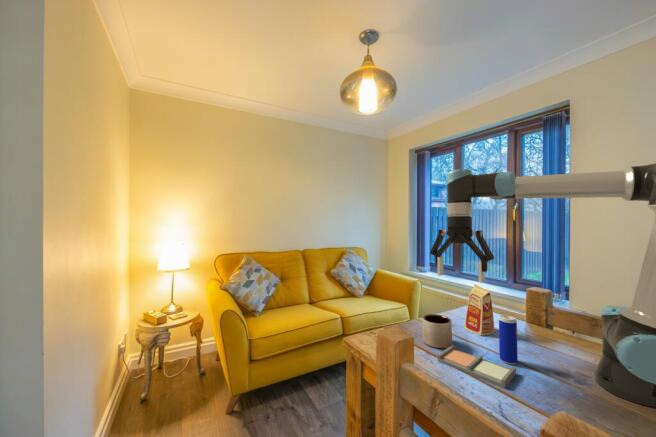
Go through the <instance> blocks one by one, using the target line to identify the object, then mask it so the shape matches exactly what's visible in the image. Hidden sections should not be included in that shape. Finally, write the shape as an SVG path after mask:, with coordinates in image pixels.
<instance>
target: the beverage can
mask: <svg viewBox="0 0 656 437" xmlns="http://www.w3.org/2000/svg"><path fill="white" fill-rule="evenodd" d="M498 339H499V340H498V346H499V347H498V350H499V353H498V354H499V359H500V361H501V362H503V363H504V364H507V365H512V366H514V365H516V364H517V363H518V321H517V319H516V317H514V316H512V315H505V314H502V315H499V317H498Z"/></svg>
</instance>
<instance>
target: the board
mask: <svg viewBox="0 0 656 437" xmlns="http://www.w3.org/2000/svg"><path fill="white" fill-rule="evenodd" d="M437 362H438V363H442V364H444V365H446V366H449V367H452V368H454V369H456V370H458V371H461V372H462V373H466V374H467V375H470V376H473V377H475V378H478V379H480V380H483V381H484V382H485V381H486V382H487V383H490V384H492V385H495V386H498V387H500V388H502V389H505V388H506V387H508V385H509V384H510V382H511V381H512V380H513V378H515V376H517V366H514V365H512V366H511V368H510V367H506V366H503V365H501V364H499V363H497V362H496V363H495V362H492V361H490V360H488V359H487V360H486V359H484V358H483V355H480V354H479V355H478V356H475V355H473V354H470V353H467V352H464V351H462V350H459V349H456V347H455V345H454V344H452V345H451V346H450V347H448V348H445V349H443V351H441V352H440V353H438V354H437Z"/></svg>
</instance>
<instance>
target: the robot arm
mask: <svg viewBox="0 0 656 437" xmlns="http://www.w3.org/2000/svg"><path fill="white" fill-rule="evenodd" d="M446 195H447V196H446V198H447V200H446V202H447V206H446V207H447V208H446V209H447V210H446V215H447V219H446V220H447V222H446V225H447V229H438V230H437V231H438V233H437V237H436V239H435V240H434V243H433V245H432V247H431V250H430V251H429V255H433V256H434V257H435V259H434V265H435V266H437V276H438V277H440V276H443V275H444V256H443V254H444V253H445V251H446V250H447V249H448V248H449V247H450V246H451V245H452V244H466V245H467V246H468V247H469V248H470V249H471V250H472V252H473V253H474V254H475V255H476V257H478V259H479V260H480V261H478V264H477V265H478V266H477V268H478V272H477V274H478V282H479V283H483V282H485V273H487V272H488V271H489V270H488V262H489V261H492V260H495V256H494V255H493V252H492V251H491V249H490V247H489V245H488V243H487V242H486V240H485V238H484V234H483V233H484V232H483V230H482V229H481V230H480V229H479V230H473V218H472V216H470V215H472V213H473V210H472V207H473V206H472V204H473V203H472V202H473V200H472V199H473V198H475V199H476V198H490V199H492V200H495V201H497V200H498V201H500V200H511V199H512V200H513V199H515V200H516V199H518V200H519V199H575V198H576V199H579V198H580V199H583V198H586V199H587V198H588V199H589V198H622V199H623V200H625V201H627V202H628V201H629V202H630V201H631V202H632V201H633V202H635V201H637V202H639V201H640V202H648V204H647V207H648V208H649V209H650V210H651V211H652V212H653V213H654V214H655V216H654V220H653V223H652V228H651V232H650V235H649V239H648V242H647V246H646V250H645V254H644V257H643V260H642V261H643V262H642V264H641V265H642V266H641V269H640V272H639V276H638V279H637V280H638V281H637V284H636V288H635V291H634V296H633V300H632V303H631V307H629V306H627V307H626V306H621V305H620V306H619V305H604V306H603V307H602V308H601V313H600V317H601V343H602V346H601V348H602V355H601V357H600V359H599V362H598V363H597V365H596V368H595V370H594V381H595V382H596V384H598V386H599V387H600V388H602V389H604V390H606V391H607V392H609V393H611V394H613V395H615V396H616V397H619V398H621V399H624V400H627V401H629V402H632V403H636V404H639V405H642V406H646V407H652V408H656V162H655V163H651V164H646V165H645V164H644V165H636V166H628V167H626V168H624V169H623V170H613V171H597V172H596V171H593V172H579V173H563V174H562V173H560V174H545V175H544V174H542V175H541V174H540V175H527V176H526V175H525V176H522V175H521V176H516V174H515V172H513V171H500V172H499V171H498V172H491V173H489V172H488V173H481V174H473V173H472V170H471V169H468V168H465V169H464V168H463V169H454V170H450V171H448V172H447V179H446ZM446 235H447V236H448V238H446V240H445V241H444V243H443V244H442V242H443V240H444V238H445V236H446ZM473 236H474V237H475V238H476V240H477V242H478V244H479V246H480V248H481V249H482V250H481V249H480V248H479V246H478V245H477V244H476V243H475V241H474V240H473V239H472V237H473ZM441 244H442V245H441Z"/></svg>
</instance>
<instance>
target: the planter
mask: <svg viewBox="0 0 656 437" xmlns="http://www.w3.org/2000/svg"><path fill="white" fill-rule="evenodd" d="M452 327H453V326H452V319H451V318H450V317H447V316H445V315H441V314H434V313H432V314H431V313H429V314H425V315H423V316H422V342H423V343H424V344H425V345H426V346H428V347H430V348H434V349H440V350H441V349H443V350H445V349H447V348H449V347H450V346H451V345H453V335H452V334H453V332H452V331H453V328H452Z"/></svg>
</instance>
